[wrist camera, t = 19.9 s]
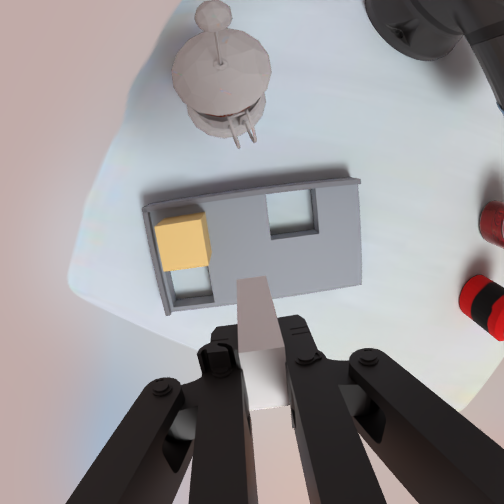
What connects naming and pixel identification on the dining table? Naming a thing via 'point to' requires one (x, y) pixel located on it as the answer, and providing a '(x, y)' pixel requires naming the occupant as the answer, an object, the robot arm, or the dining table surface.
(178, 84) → the french press
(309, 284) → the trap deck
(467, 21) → the robot arm
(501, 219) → the soda can
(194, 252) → the ochre block
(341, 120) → the dining table surface
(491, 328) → the soda can
